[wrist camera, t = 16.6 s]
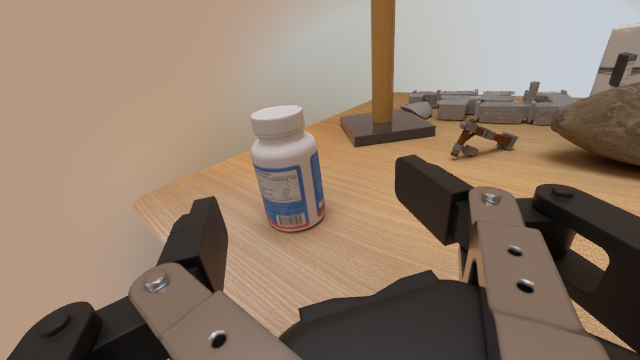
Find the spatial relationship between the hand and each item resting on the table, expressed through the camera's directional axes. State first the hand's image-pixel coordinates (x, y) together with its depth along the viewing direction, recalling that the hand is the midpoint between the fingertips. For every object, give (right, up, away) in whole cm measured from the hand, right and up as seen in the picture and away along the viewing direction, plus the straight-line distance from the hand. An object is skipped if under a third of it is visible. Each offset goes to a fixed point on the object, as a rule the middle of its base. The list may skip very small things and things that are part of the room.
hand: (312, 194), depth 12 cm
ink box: (+43, +10, +28) cm, 52 cm away
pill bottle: (-2, -3, +13) cm, 14 cm away
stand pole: (+11, +10, +32) cm, 35 cm away
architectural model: (+28, +12, +35) cm, 46 cm away
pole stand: (+11, +9, +32) cm, 35 cm away
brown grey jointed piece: (+20, +4, +20) cm, 29 cm away
